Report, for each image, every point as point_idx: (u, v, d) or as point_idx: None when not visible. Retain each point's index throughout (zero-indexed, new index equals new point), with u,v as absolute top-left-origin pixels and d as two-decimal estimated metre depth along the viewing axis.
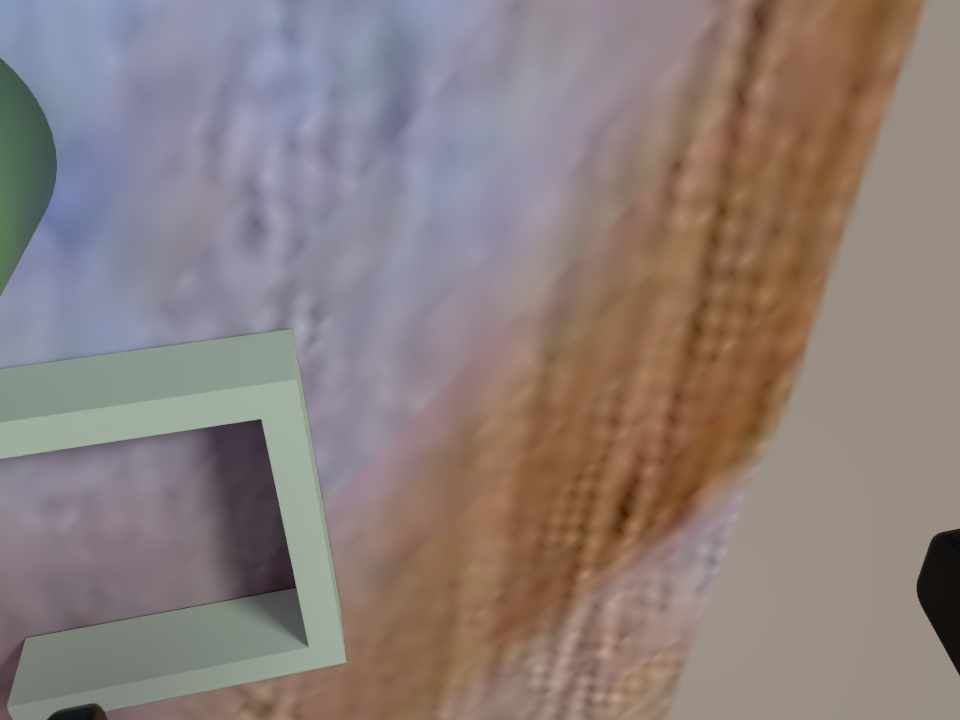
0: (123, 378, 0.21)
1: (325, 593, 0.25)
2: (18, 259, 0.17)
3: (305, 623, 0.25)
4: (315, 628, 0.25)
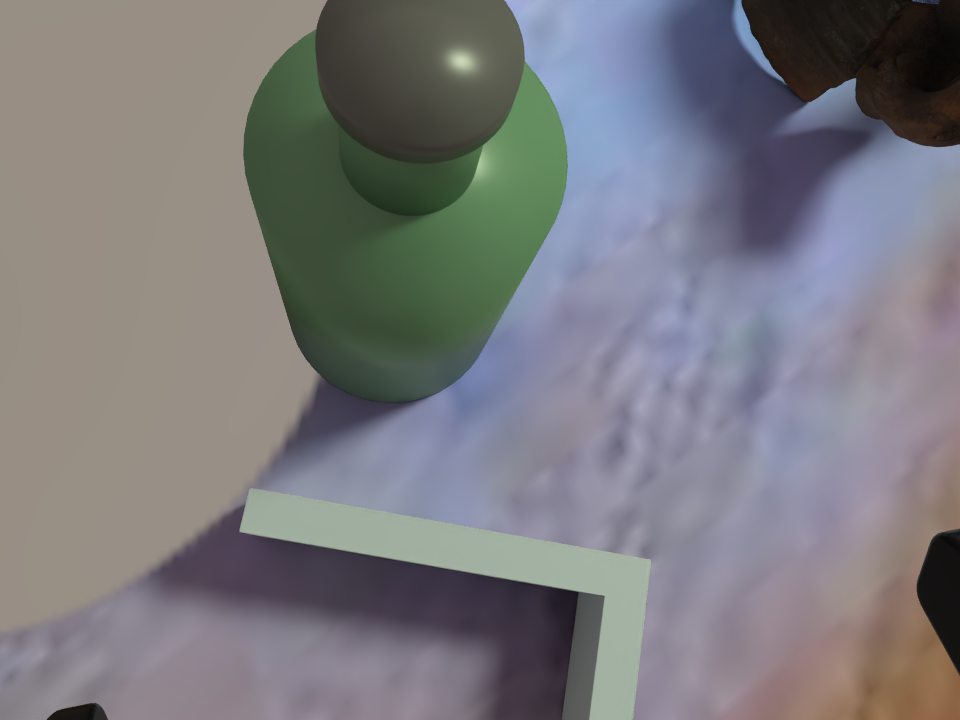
0: None
1: None
2: (484, 340, 0.20)
3: None
4: None
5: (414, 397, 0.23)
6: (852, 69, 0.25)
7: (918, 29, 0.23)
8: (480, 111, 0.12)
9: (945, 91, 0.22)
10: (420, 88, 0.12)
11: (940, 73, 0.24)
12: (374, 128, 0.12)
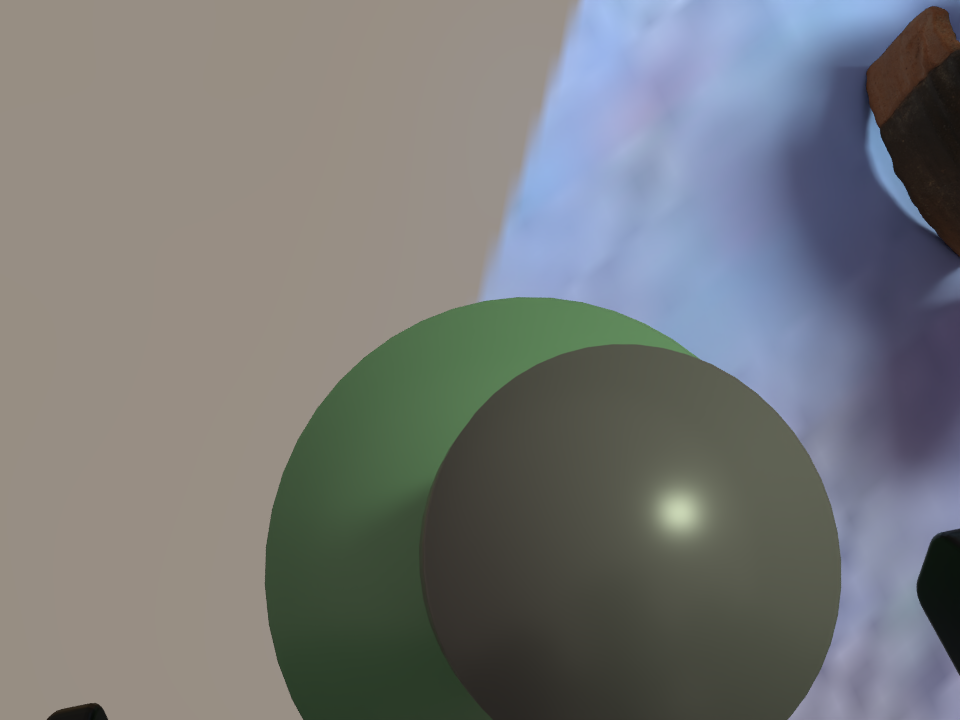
0: None
1: None
2: None
3: None
4: None
5: None
6: None
7: None
8: (760, 679, 0.06)
9: None
10: (644, 647, 0.06)
11: None
12: None
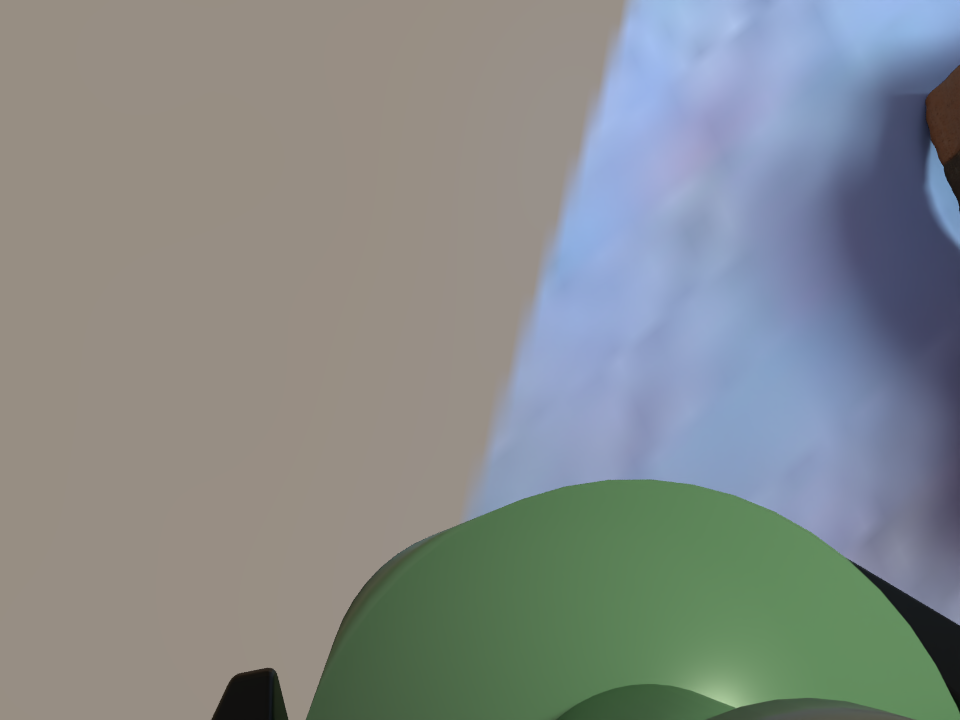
0: None
1: None
2: None
3: None
4: None
5: None
6: None
7: None
8: None
9: None
10: None
11: None
12: None
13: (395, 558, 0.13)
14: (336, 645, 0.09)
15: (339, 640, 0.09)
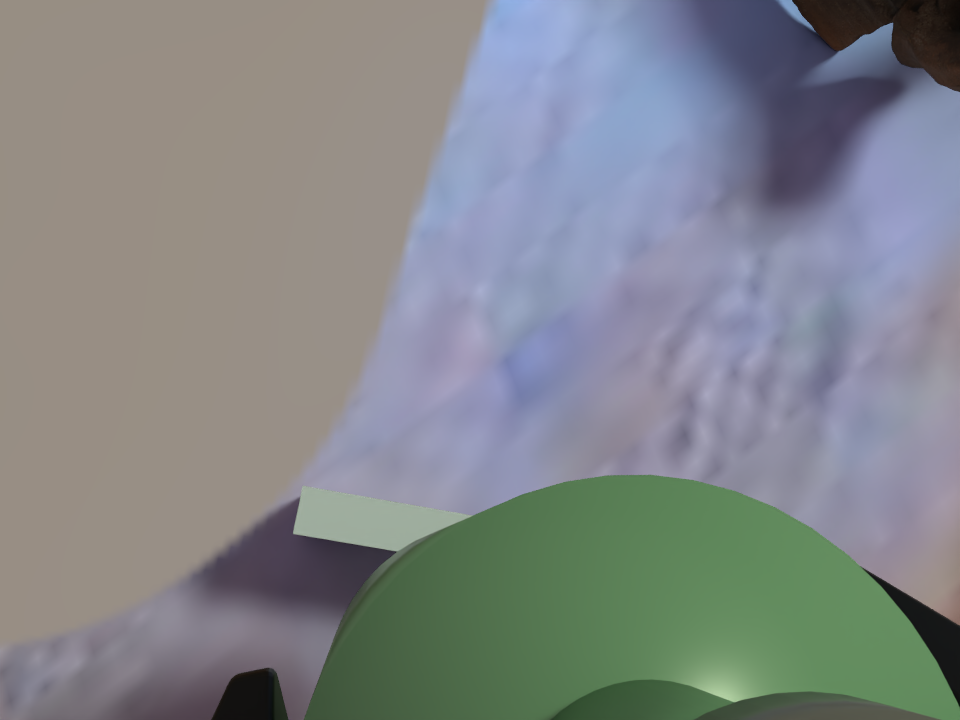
0: None
1: None
2: None
3: None
4: None
5: None
6: (889, 13, 0.23)
7: None
8: None
9: None
10: None
11: None
12: None
13: (395, 555, 0.13)
14: (335, 642, 0.09)
15: (338, 636, 0.09)
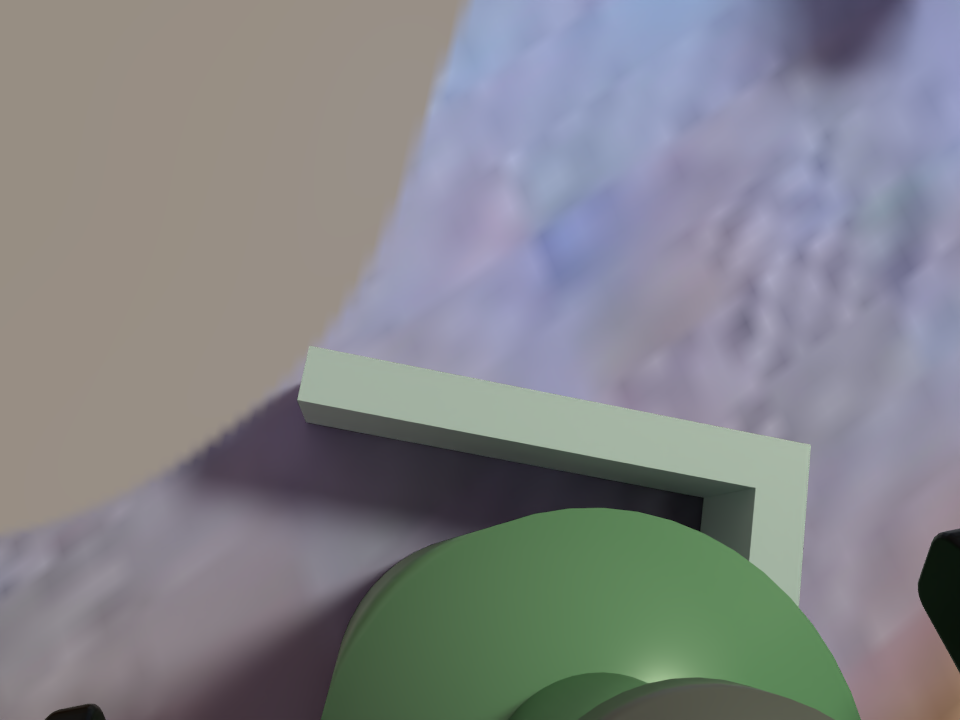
0: None
1: None
2: None
3: None
4: None
5: None
6: None
7: None
8: None
9: None
10: None
11: None
12: None
13: (397, 566, 0.15)
14: (347, 643, 0.11)
15: (350, 638, 0.11)
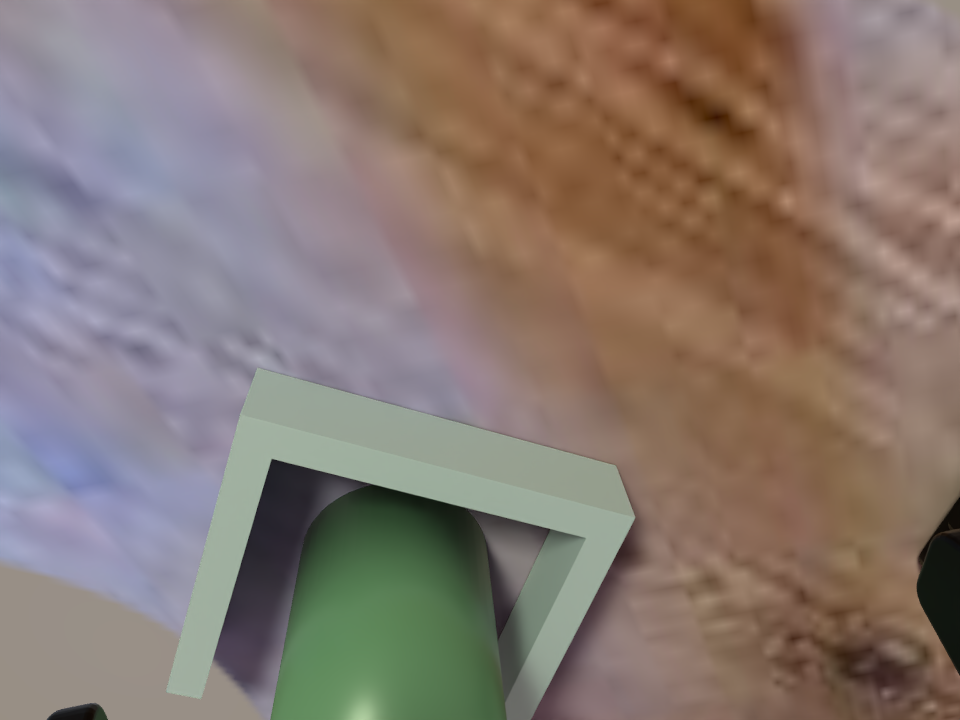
0: None
1: (523, 496, 0.22)
2: (474, 587, 0.22)
3: (550, 527, 0.23)
4: (565, 522, 0.23)
5: None
6: None
7: None
8: None
9: None
10: None
11: None
12: None
13: None
14: None
15: None
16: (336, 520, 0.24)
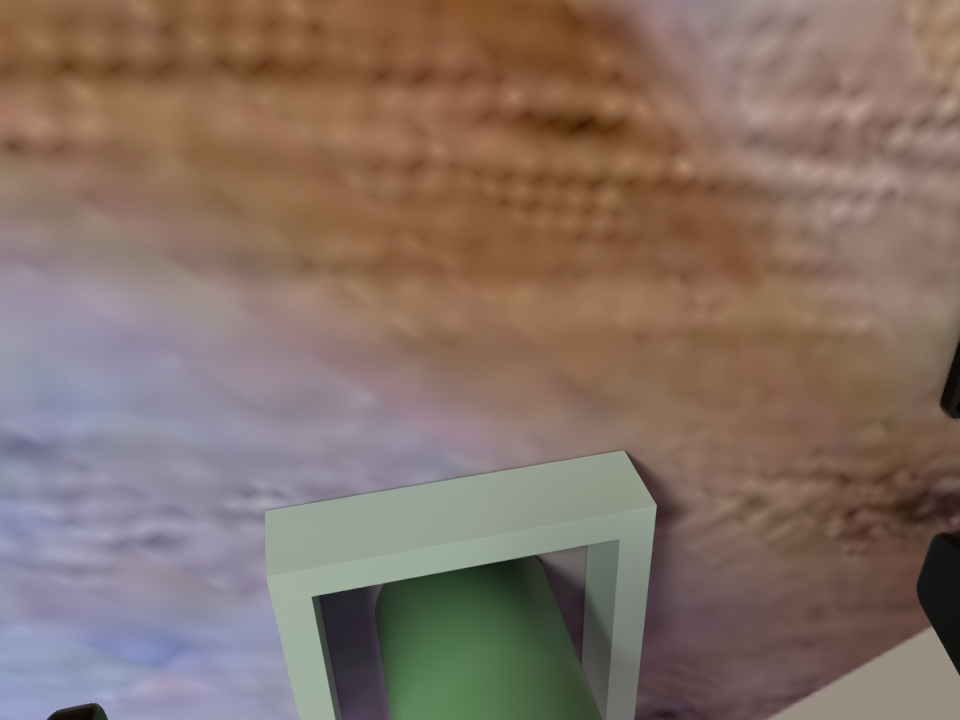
0: None
1: (547, 531, 0.23)
2: (536, 623, 0.24)
3: (583, 544, 0.24)
4: (595, 535, 0.24)
5: (544, 573, 0.27)
6: None
7: None
8: None
9: None
10: None
11: None
12: None
13: None
14: None
15: None
16: (394, 602, 0.25)
